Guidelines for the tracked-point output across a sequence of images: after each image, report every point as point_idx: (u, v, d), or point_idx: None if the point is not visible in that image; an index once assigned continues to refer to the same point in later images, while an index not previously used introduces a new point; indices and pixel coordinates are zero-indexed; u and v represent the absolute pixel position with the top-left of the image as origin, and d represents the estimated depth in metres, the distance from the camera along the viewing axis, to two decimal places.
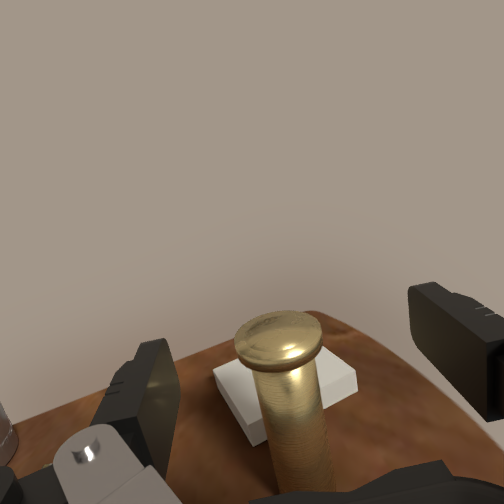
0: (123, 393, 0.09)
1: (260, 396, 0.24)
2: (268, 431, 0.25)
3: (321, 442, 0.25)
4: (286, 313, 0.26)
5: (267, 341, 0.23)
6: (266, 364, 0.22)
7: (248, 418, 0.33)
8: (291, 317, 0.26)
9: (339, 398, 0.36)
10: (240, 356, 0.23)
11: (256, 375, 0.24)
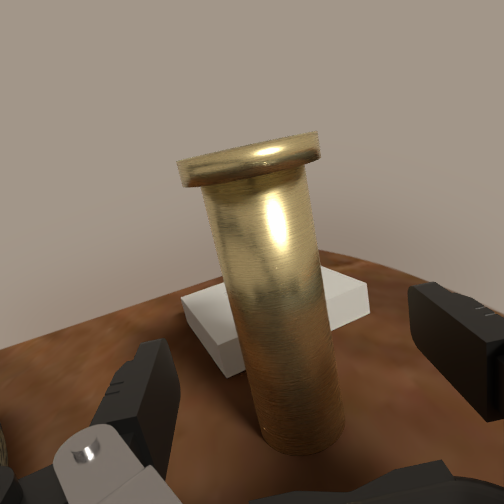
0: (123, 393, 0.09)
1: (221, 252, 0.15)
2: (237, 316, 0.16)
3: (321, 332, 0.16)
4: (264, 141, 0.17)
5: (229, 150, 0.14)
6: (222, 165, 0.12)
7: (220, 338, 0.24)
8: (271, 140, 0.16)
9: (345, 321, 0.27)
10: (183, 172, 0.14)
11: (212, 213, 0.14)
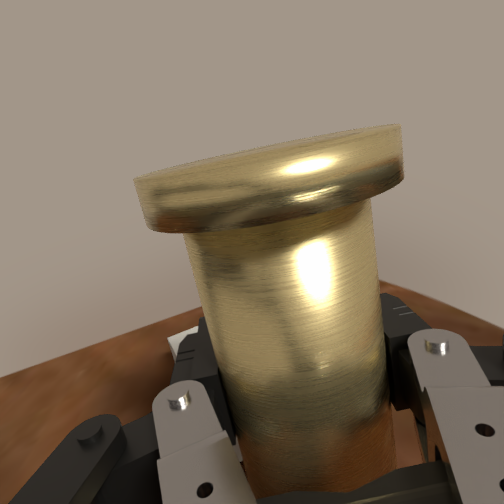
0: (197, 357, 0.10)
1: (217, 341, 0.08)
2: (243, 442, 0.09)
3: (387, 471, 0.09)
4: (288, 141, 0.10)
5: (232, 159, 0.07)
6: (220, 194, 0.06)
7: None
8: (302, 139, 0.10)
9: None
10: (143, 201, 0.07)
11: (200, 274, 0.08)
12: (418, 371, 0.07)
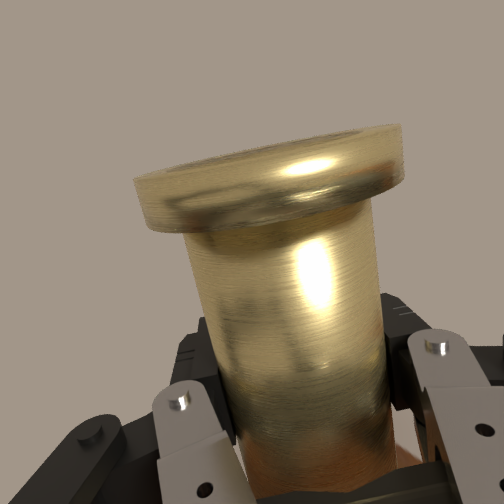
0: (197, 357, 0.10)
1: (217, 341, 0.08)
2: (243, 442, 0.09)
3: (388, 471, 0.09)
4: (288, 141, 0.10)
5: (232, 158, 0.07)
6: (220, 194, 0.06)
7: None
8: (302, 139, 0.10)
9: None
10: (143, 201, 0.07)
11: (199, 274, 0.08)
12: (418, 371, 0.07)
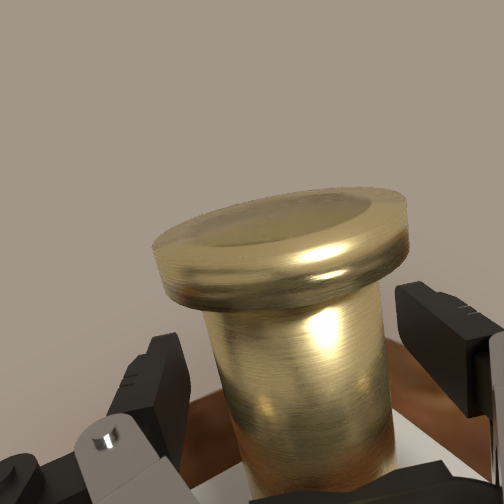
0: (138, 384, 0.09)
1: (230, 396, 0.09)
2: (254, 489, 0.10)
3: None
4: (296, 194, 0.11)
5: (246, 230, 0.08)
6: (238, 281, 0.06)
7: None
8: (311, 195, 0.10)
9: None
10: (162, 273, 0.07)
11: (214, 336, 0.08)
12: (494, 371, 0.07)
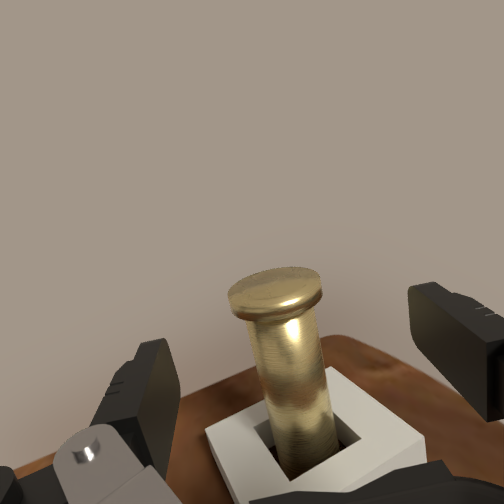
0: (123, 392, 0.09)
1: (256, 354, 0.23)
2: (266, 394, 0.23)
3: (323, 405, 0.23)
4: (283, 269, 0.25)
5: (263, 292, 0.22)
6: (261, 312, 0.20)
7: None
8: (288, 272, 0.24)
9: None
10: (234, 308, 0.21)
11: (251, 330, 0.22)
12: None
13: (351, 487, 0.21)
